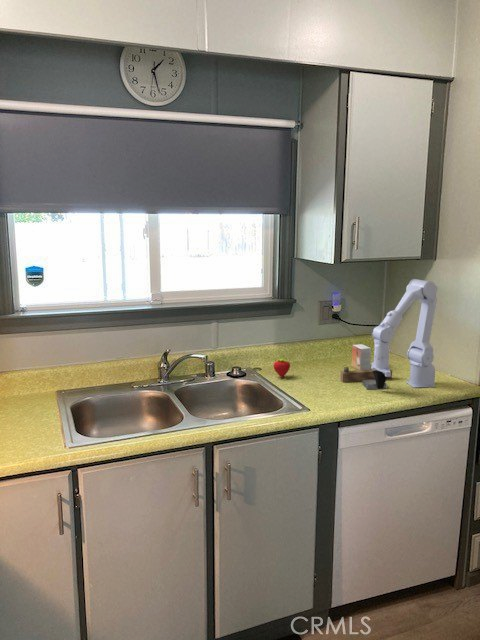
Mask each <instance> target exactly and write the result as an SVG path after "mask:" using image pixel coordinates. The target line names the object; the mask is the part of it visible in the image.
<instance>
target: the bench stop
mask: <svg viewBox="0 0 480 640" xmlns="http://www.w3.org/2000/svg"><path fill="white" fill-rule="evenodd" d="M388 367H389V370H390V372H391V376H390V377H387V379H386V381H388V380H393V370H392V369H390V365H388ZM349 369H350V368H349V366H344V367H343V370H342V371H340V378H339V379H340V381H341V383H353V382H354V383H357V382H363V380H374V379H375V377H374V374H373V372H372V371H375V369H370V370H357V369H356V370H349Z"/></svg>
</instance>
